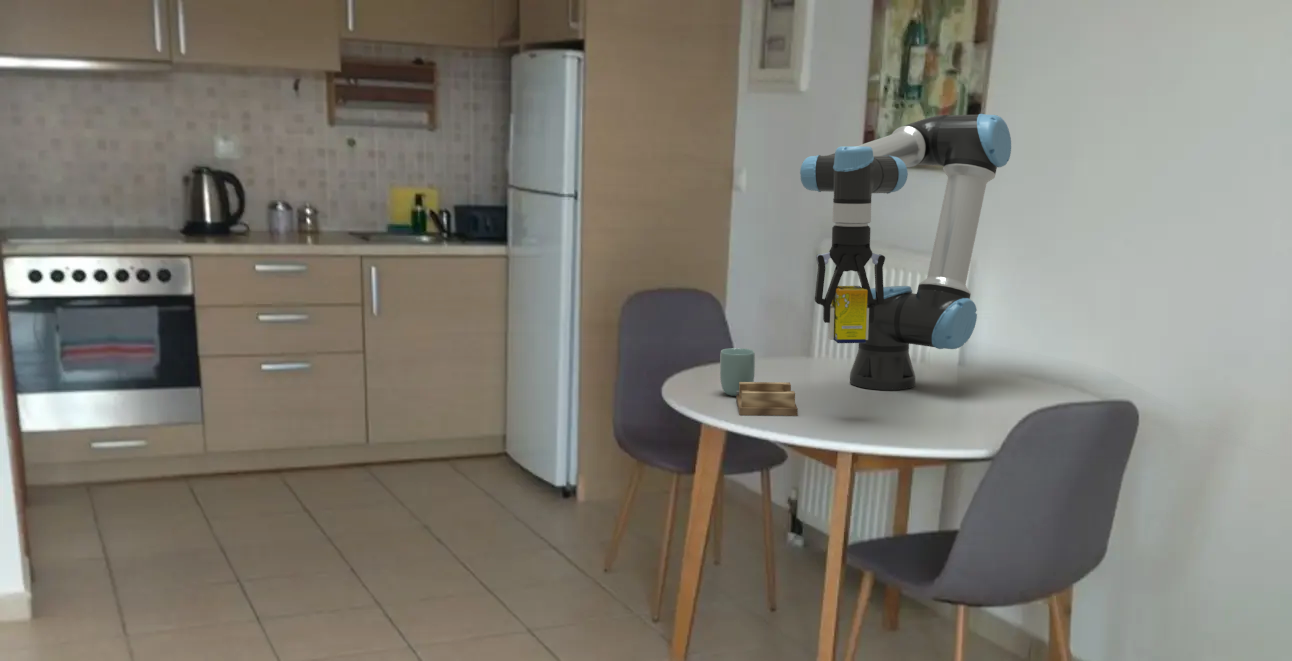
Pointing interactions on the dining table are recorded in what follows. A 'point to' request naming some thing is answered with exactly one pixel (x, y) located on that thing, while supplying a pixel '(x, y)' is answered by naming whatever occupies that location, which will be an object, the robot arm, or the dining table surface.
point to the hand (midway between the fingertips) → (847, 338)
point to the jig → (766, 399)
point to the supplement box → (850, 314)
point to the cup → (736, 368)
